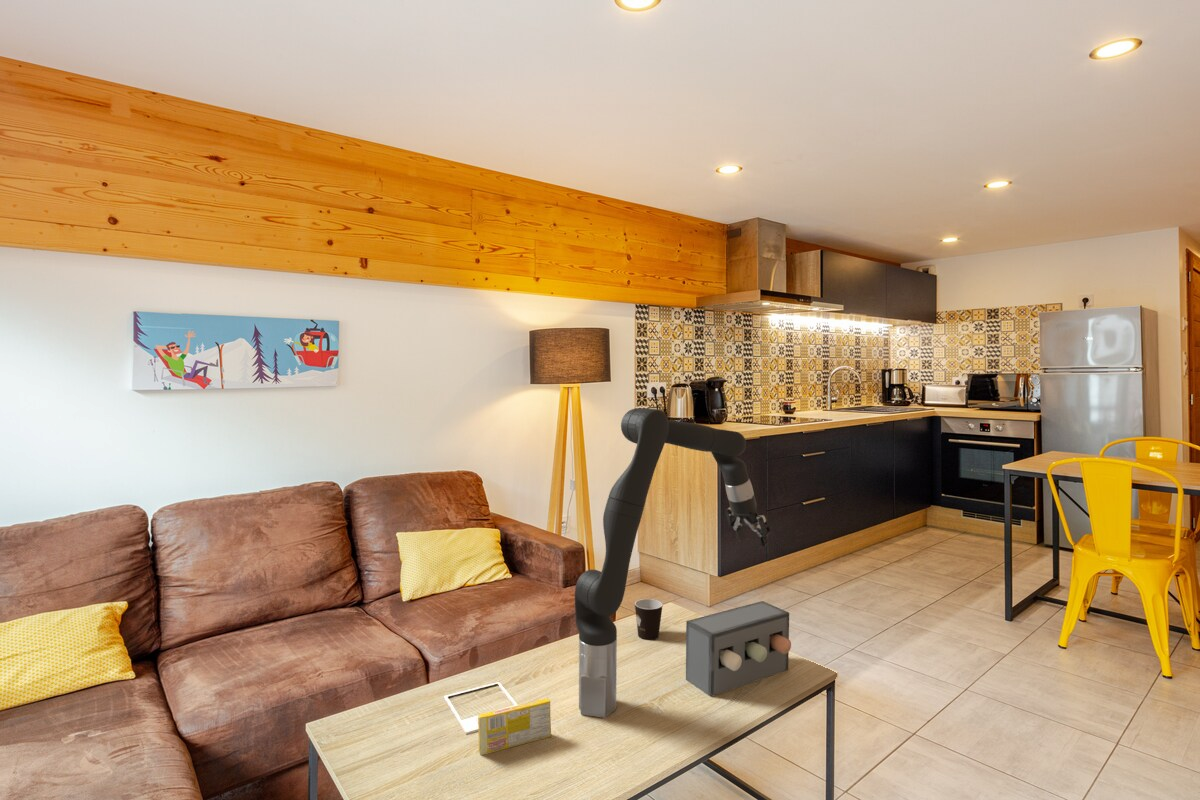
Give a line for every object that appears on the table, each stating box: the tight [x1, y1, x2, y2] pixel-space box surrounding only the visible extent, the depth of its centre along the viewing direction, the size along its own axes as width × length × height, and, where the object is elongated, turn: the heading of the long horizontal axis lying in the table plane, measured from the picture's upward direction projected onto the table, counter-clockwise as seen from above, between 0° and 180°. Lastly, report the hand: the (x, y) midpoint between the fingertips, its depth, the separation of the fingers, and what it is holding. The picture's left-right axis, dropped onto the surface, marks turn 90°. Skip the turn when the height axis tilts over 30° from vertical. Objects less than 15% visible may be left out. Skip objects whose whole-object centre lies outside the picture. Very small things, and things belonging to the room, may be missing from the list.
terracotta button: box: [769, 634, 792, 654], centre depth 169 cm, size 7×4×4 cm, turn 31°
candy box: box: [477, 697, 552, 756], centre depth 138 cm, size 16×2×8 cm, turn 115°
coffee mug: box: [634, 598, 664, 641], centre depth 195 cm, size 12×9×10 cm
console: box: [685, 600, 790, 697], centre depth 169 cm, size 10×28×16 cm, turn 121°
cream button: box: [719, 649, 742, 671], centre depth 160 cm, size 7×4×4 cm, turn 31°
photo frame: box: [443, 681, 518, 735], centre depth 153 cm, size 15×1×18 cm
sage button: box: [745, 642, 767, 662], centre depth 165 cm, size 7×4×4 cm, turn 31°
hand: (753, 542), depth 185 cm, fingers open, 8 cm apart
